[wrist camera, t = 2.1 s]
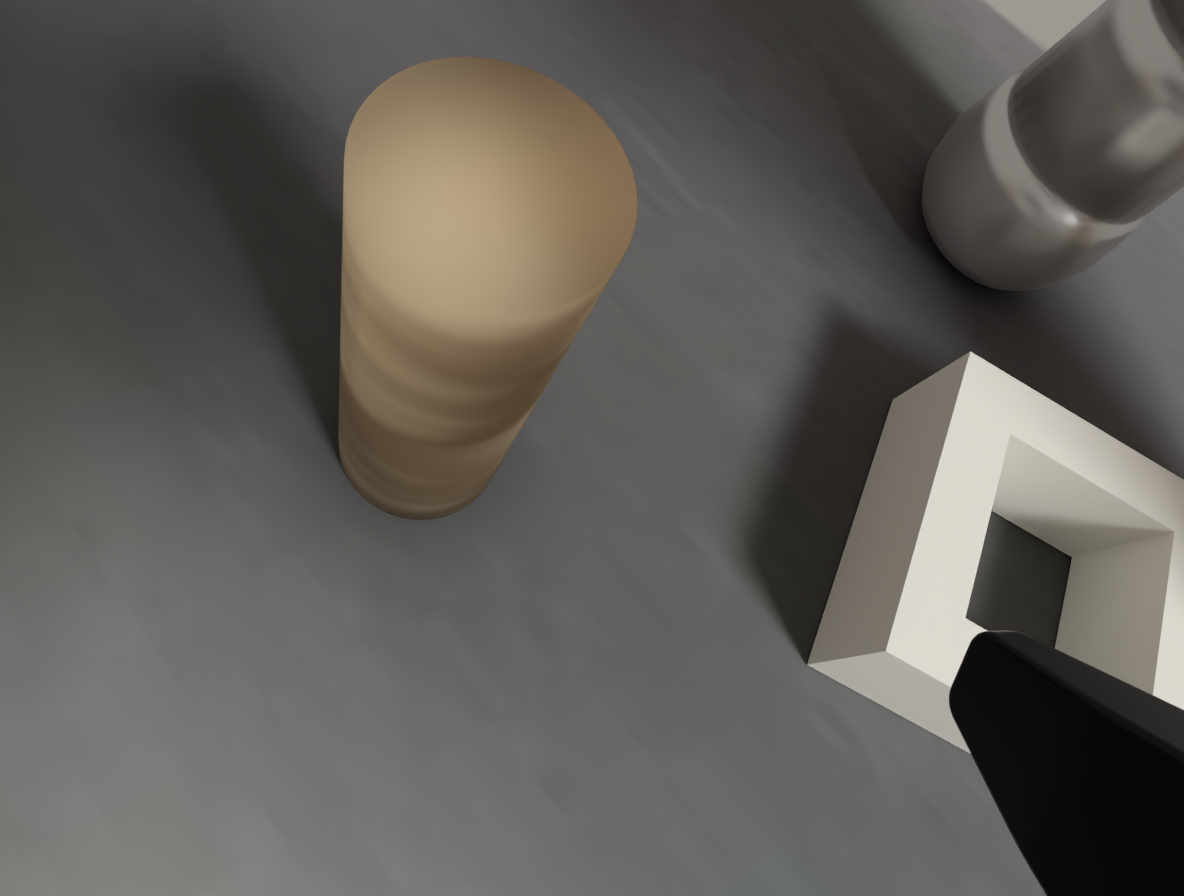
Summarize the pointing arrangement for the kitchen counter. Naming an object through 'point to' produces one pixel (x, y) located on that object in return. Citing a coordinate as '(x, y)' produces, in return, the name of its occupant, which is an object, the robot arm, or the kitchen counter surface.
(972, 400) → the socket
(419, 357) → the peg
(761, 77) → the kitchen counter surface
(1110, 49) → the plastic bottle
